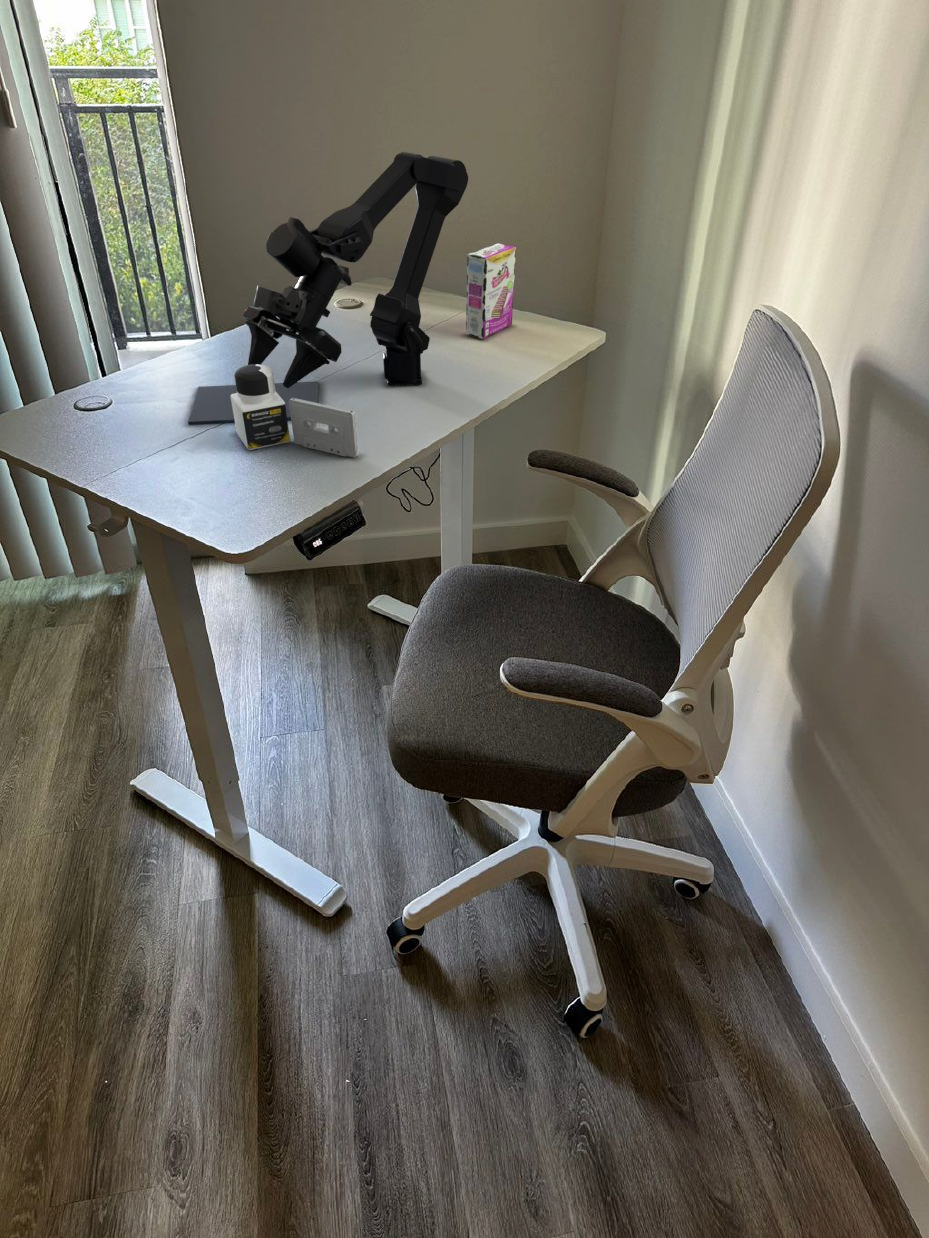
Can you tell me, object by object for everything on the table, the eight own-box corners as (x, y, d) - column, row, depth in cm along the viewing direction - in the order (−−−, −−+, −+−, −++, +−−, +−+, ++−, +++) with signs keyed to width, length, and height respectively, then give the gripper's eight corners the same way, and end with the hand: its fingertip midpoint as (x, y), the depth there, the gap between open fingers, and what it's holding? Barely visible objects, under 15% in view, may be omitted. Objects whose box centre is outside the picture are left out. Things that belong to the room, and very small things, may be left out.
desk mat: (319, 384, 160) (318, 381, 160) (318, 418, 149) (317, 415, 148) (199, 389, 158) (198, 386, 158) (188, 425, 146) (187, 421, 146)
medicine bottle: (248, 451, 139) (236, 380, 131) (236, 434, 144) (224, 364, 136) (290, 442, 141) (281, 372, 134) (277, 425, 146) (267, 357, 139)
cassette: (360, 454, 138) (357, 410, 133) (354, 459, 137) (350, 414, 132) (298, 439, 142) (293, 396, 137) (292, 444, 141) (286, 400, 136)
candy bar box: (484, 340, 178) (486, 258, 168) (465, 335, 181) (465, 254, 170) (514, 325, 185) (517, 245, 175) (494, 321, 188) (496, 241, 178)
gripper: (243, 252, 136) (196, 339, 136) (320, 276, 126) (270, 370, 126) (288, 291, 145) (244, 373, 146) (363, 317, 136) (316, 404, 136)
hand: (267, 379), depth 138 cm, fingers open, 9 cm apart
